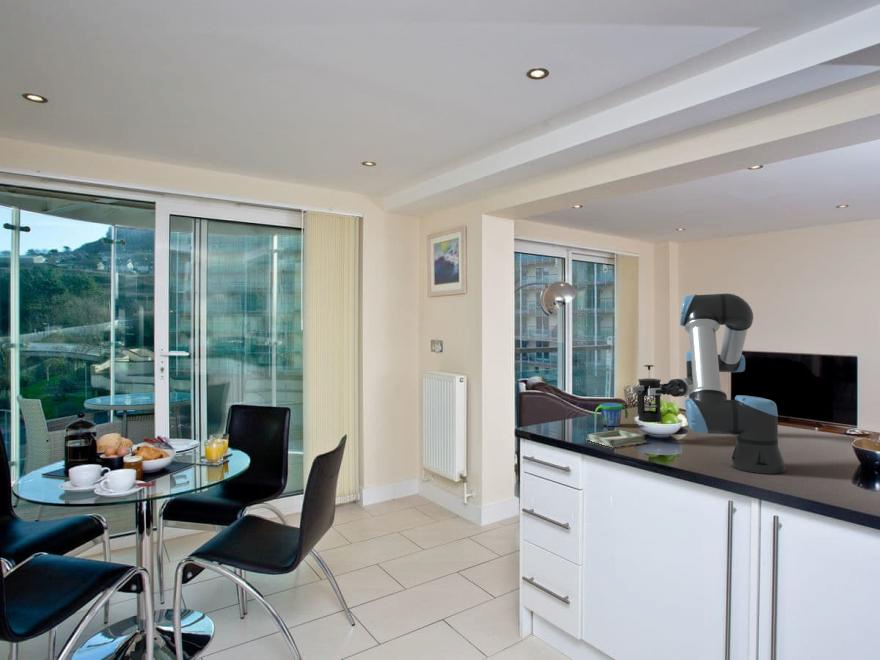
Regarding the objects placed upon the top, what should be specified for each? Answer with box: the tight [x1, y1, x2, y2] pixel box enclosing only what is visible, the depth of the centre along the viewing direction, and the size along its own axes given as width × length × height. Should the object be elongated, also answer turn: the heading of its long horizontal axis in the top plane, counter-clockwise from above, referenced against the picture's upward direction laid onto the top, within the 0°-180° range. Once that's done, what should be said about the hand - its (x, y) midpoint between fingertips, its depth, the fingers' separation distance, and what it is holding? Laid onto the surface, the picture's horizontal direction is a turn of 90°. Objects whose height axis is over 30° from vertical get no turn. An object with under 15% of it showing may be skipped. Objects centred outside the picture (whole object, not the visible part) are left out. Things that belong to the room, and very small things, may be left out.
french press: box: [636, 364, 663, 423], centre depth 211 cm, size 12×9×23 cm
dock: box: [584, 429, 647, 449], centre depth 210 cm, size 16×18×3 cm
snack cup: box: [594, 402, 629, 427], centre depth 245 cm, size 16×10×10 cm
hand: (640, 391), depth 209 cm, fingers closed on french press, 8 cm apart
